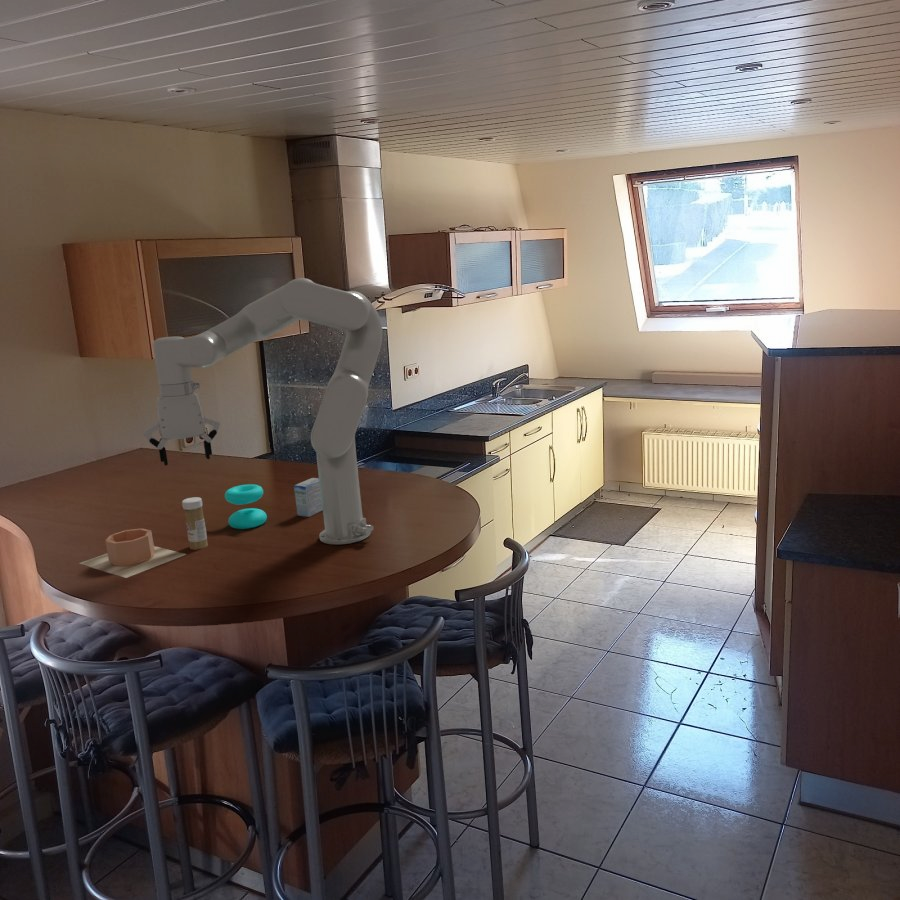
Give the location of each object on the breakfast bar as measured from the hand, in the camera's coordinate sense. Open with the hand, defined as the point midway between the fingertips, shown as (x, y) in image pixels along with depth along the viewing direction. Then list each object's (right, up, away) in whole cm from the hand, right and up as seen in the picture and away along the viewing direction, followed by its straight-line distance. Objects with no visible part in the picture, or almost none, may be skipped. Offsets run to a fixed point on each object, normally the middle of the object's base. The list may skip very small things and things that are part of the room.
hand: (187, 461), depth 198 cm
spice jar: (+2, -22, +5) cm, 23 cm away
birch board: (-13, -25, 0) cm, 28 cm away
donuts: (+9, -17, +24) cm, 31 cm away
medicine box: (+25, -15, +30) cm, 42 cm away
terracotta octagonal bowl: (-13, -23, -1) cm, 26 cm away
